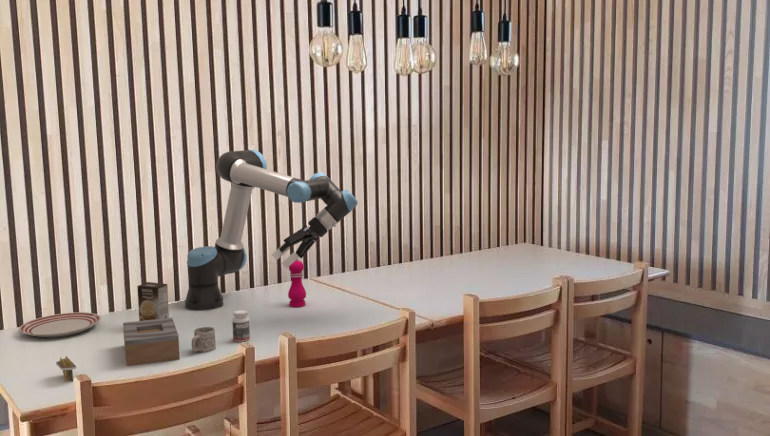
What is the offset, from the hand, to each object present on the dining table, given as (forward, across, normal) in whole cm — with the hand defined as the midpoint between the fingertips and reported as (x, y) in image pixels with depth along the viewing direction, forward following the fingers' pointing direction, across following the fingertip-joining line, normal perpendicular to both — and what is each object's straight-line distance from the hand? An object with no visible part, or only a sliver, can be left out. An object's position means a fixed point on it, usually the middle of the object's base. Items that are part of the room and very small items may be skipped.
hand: (279, 261), depth 275 cm
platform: (+68, -49, -1) cm, 83 cm away
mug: (+37, -22, -14) cm, 45 cm away
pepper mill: (+8, +31, -8) cm, 33 cm away
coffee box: (+50, 0, +13) cm, 51 cm away
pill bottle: (+27, -11, -16) cm, 33 cm away
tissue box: (+49, -26, -3) cm, 56 cm away
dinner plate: (+75, -6, +34) cm, 83 cm away
